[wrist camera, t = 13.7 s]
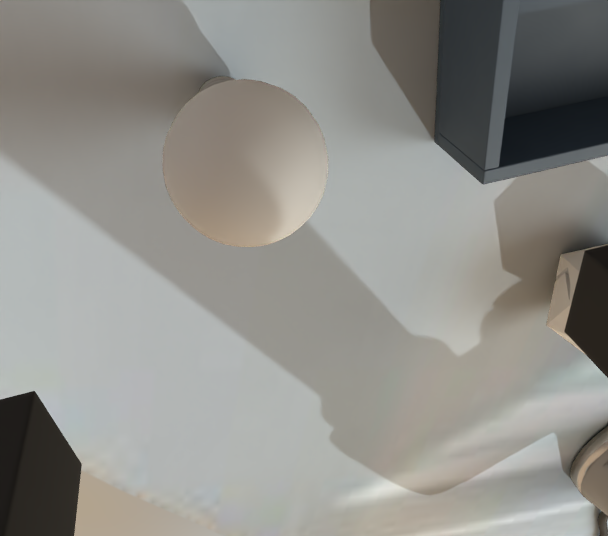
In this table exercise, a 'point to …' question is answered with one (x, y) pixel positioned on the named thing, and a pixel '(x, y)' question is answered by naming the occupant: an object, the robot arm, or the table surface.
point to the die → (565, 292)
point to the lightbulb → (245, 162)
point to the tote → (522, 84)
